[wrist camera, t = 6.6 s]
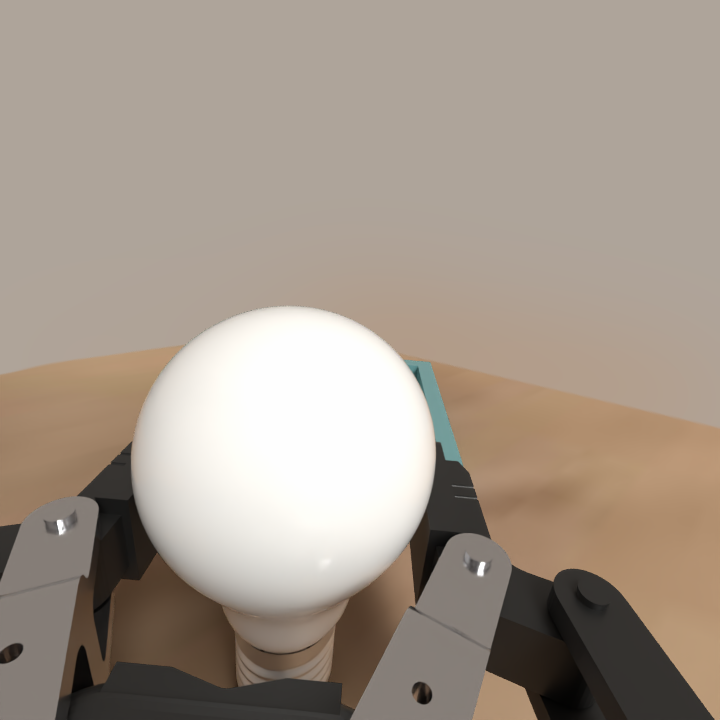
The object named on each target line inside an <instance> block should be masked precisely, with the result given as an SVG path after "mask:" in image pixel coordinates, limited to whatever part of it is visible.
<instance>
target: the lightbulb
mask: <svg viewBox="0 0 720 720" xmlns="http://www.w3.org/2000/svg"><path fill="white" fill-rule="evenodd" d="M435 467H436V441H435V432H434V426H433V421H432V417H431V413H430V410H429V406H428V403H427V401H426V398H425V396H424V393H423V391H422V389H421V387H420V385H419V383H418V381H417V379H416V378H415V376H414V374H413V373H412V371H411V370H410V368H409V367H408V365H407V364H406V363H405V361H404V360H403V359H402V358H401V357H400V355H399V354H398V353H397V352H396V351H395V350H394V349H393V348H392V347H391V346H390V345H389V344H388V343H387V342H385V341H384V340H383V339H382V338H381V337H379V336H378V335H377V334H375V333H374V332H373V331H371V330H369V329H368V328H366V327H365V326H363V325H361V324H360V323H357V322H355V321H354V320H351V319H349V318H347V317H345V316H342V315H339V314H336V313H334V312H330V311H326V310H322V309H317V308H311V307H304V306H274V307H266V308H260V309H255V310H251V311H247V312H244V313H241V314H238V315H235V316H232V317H230V318H228V319H225V320H223V321H221V322H219V323H217V324H215V325H213V326H212V327H210V328H208V329H206V330H205V331H203V332H202V333H200V334H199V335H197V336H196V337H195V338H193V339H192V340H191V341H190V342H188V343H187V344H186V345H185V346H184V347H183V348H182V349H181V350H180V351H179V352H178V353H177V354H176V355H175V356H174V357H173V358H172V359H171V360H170V361H169V362H168V363H167V365H166V366H165V367H164V368H163V370H162V371H161V373H160V374H159V375H158V377H157V378H156V380H155V382H154V383H153V385H152V387H151V388H150V390H149V392H148V394H147V396H146V398H145V400H144V403H143V405H142V407H141V410H140V413H139V416H138V419H137V422H136V426H135V430H134V435H133V441H132V449H131V482H132V490H133V495H134V500H135V504H136V508H137V511H138V514H139V517H140V520H141V522H142V525H143V527H144V529H145V532H146V534H147V536H148V538H149V539H150V541H151V543H152V545H153V546H154V548H155V549H156V551H157V552H158V554H159V555H160V556H161V558H162V559H163V560H164V561H165V563H166V564H167V565H168V566H169V567H170V568H171V569H172V571H173V572H174V573H176V574H177V575H178V576H179V577H180V578H181V579H182V580H183V581H184V582H186V583H187V584H188V585H189V586H191V587H192V588H193V589H195V590H196V591H198V592H199V593H201V594H202V595H204V596H205V597H207V598H209V599H211V600H212V601H214V602H216V603H218V604H220V605H221V606H222V608H223V611H224V614H225V616H226V618H227V620H228V622H229V623H230V625H231V626H232V628H233V629H234V630H235V645H236V677H237V682H238V686H239V687H240V686H246V685H251V684H257V683H262V682H268V681H273V680H279V679H284V678H292V679H302V680H312V681H323V682H328V680H329V677H330V674H331V668H332V656H333V645H334V634H335V625H336V623H337V622H338V621H339V619H340V617H341V616H342V614H343V612H344V610H345V608H346V606H347V604H348V601H349V599H350V597H352V596H354V595H355V594H357V593H358V592H360V591H361V590H363V589H364V588H366V587H367V586H368V585H370V584H371V583H372V582H374V581H375V580H376V579H377V578H378V577H380V576H381V575H382V574H383V573H384V572H385V571H386V570H387V569H388V568H389V567H390V566H391V565H392V564H393V563H394V562H395V561H396V559H397V558H398V557H399V556H400V555H401V553H402V552H403V551H404V549H405V548H406V547H407V545H408V544H409V542H410V541H411V539H412V537H413V536H414V534H415V532H416V530H417V529H418V527H419V524H420V522H421V520H422V518H423V516H424V513H425V511H426V508H427V505H428V502H429V499H430V495H431V491H432V487H433V482H434V476H435Z"/></svg>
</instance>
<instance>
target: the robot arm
mask: <svg viewBox="0 0 720 720" xmlns="http://www.w3.org/2000/svg"><path fill="white" fill-rule="evenodd" d="M131 449H132V442H131V443H130V444H129V445H128V446H127V447H126V448H125V449H124V450H123V451H122V452H121V454H120V455H118V456H117V457H116V458H115V459H114V460H113V461H112V462H111V465H108V466H107V467H106V468H105V469H104V470H103V471H102V472H101V473H100V474H99V475H98V476H97V477H96V478H95V479H94V480H93V481H92V482H91V483H90V484H89V485H88V486H87V487H86V488H85V489H84V490H83V491H82V492H81V493H80V494H79V495H78V496H76V497H66V498H62V499H58V500H55V501H52V502H49V503H47V504H45V505H43V506H41V507H39V508H38V509H36V510H35V511H33V512H32V513H31V514H29V515H28V516H27V517H26V518H25V520H24V521H23V522H22V524H16V525H8V526H1V527H0V720H472V718H473V714H474V710H475V707H476V703H477V699H478V695H479V692H480V688H481V684H482V681H483V677H484V673H485V670H486V671H488V672H490V673H493V674H495V675H497V676H499V677H502V678H504V679H506V680H508V681H511V682H513V683H515V684H518V685H520V686H522V687H524V688H525V689H526V692H527V695H528V697H529V700H530V702H531V704H532V707H533V709H534V712H535V714H536V717H537V719H538V720H714V718H713V717H712V716H711V714H710V713H709V712H708V710H707V709H706V708H705V706H704V705H703V703H702V702H701V701H700V699H699V698H698V697H697V695H696V694H695V693H694V691H693V690H692V689H691V687H690V686H689V685H688V683H687V682H686V680H685V679H684V678H683V676H682V675H681V674H680V672H679V671H678V670H677V668H676V667H675V666H674V664H673V663H672V662H671V660H670V659H669V657H668V656H667V655H666V653H665V652H664V651H663V649H662V648H661V647H660V645H659V644H658V643H657V641H656V640H655V638H654V637H653V636H652V634H651V633H650V632H649V630H648V629H647V628H646V626H645V625H644V624H643V622H642V621H641V620H640V618H639V617H638V615H637V614H636V613H635V611H634V610H633V609H632V607H631V606H630V605H629V603H628V602H627V601H626V599H625V598H624V597H623V595H622V594H621V593H620V592H619V591H618V590H617V589H616V588H615V587H614V586H612V585H611V584H610V583H609V582H607V581H606V580H604V579H603V578H601V577H599V576H597V575H595V574H593V573H590V572H587V571H584V570H580V569H566V570H563V571H561V572H559V573H558V574H557V575H556V577H555V579H554V582H552V581H549V580H546V579H544V578H541V577H538V576H535V575H532V574H530V573H527V572H525V571H522V570H520V569H518V568H516V567H515V566H513V565H512V564H511V561H510V559H509V557H508V555H507V553H506V552H505V551H504V550H503V549H502V548H501V547H500V546H499V545H498V544H497V543H495V542H494V541H492V540H491V538H490V535H489V532H488V529H487V526H486V523H485V520H484V516H483V513H482V510H481V507H480V504H479V501H478V500H477V495H476V492H475V489H473V483H472V480H471V477H470V474H469V472H468V471H467V470H466V469H465V468H464V467H463V466H462V465H461V464H460V463H459V462H458V461H451V460H445V456H444V452H443V448H442V445H441V442H436V467H435V476H434V482H433V487H432V491H431V495H430V499H429V502H428V505H427V508H426V511H425V513H424V516H423V518H422V520H421V522H420V524H419V527H418V529H417V530H416V532H415V534H414V536H413V537H412V539H411V541H410V549H411V560H412V571H413V581H414V592H415V603H416V606H415V608H414V607H412V606H410V607H409V608H408V609H407V610H406V612H405V614H404V615H403V617H402V619H401V621H400V623H399V625H398V627H397V629H396V631H395V633H394V635H393V637H392V639H391V641H390V643H389V645H388V646H387V648H386V650H385V652H384V654H383V656H382V658H381V660H380V662H379V664H378V666H377V668H376V670H375V672H374V674H373V676H372V678H371V680H370V682H369V684H368V685H367V687H366V689H365V691H364V693H363V695H362V697H361V699H360V701H359V703H358V705H357V707H356V709H355V710H354V709H352V708H350V707H348V706H345V705H343V704H341V692H342V683H333V682H323V681H312V680H302V679H292V678H284V679H279V680H273V681H268V682H262V683H257V684H251V685H246V686H240V687H235V688H227V689H226V688H220V687H217V686H215V685H213V684H211V683H208V682H206V681H204V680H201V679H199V678H197V677H194V676H192V675H190V674H187V673H185V672H183V671H180V670H178V669H176V668H173V667H167V666H157V665H146V664H136V663H126V662H117V663H116V664H115V666H114V668H113V670H112V671H111V673H110V675H109V668H110V655H111V643H112V630H113V618H114V605H115V596H114V588H115V587H116V585H117V584H118V582H119V581H120V579H130V580H140V579H141V577H142V576H143V574H144V573H145V571H146V569H147V568H148V566H149V564H150V563H151V561H152V560H153V558H154V556H155V555H156V553H157V551H156V549H155V548H154V546H153V545H152V543H151V541H150V539H149V538H148V536H147V534H146V532H145V529H144V527H143V525H142V522H141V520H140V517H139V514H138V511H137V508H136V504H135V500H134V495H133V490H132V482H131Z"/></svg>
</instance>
